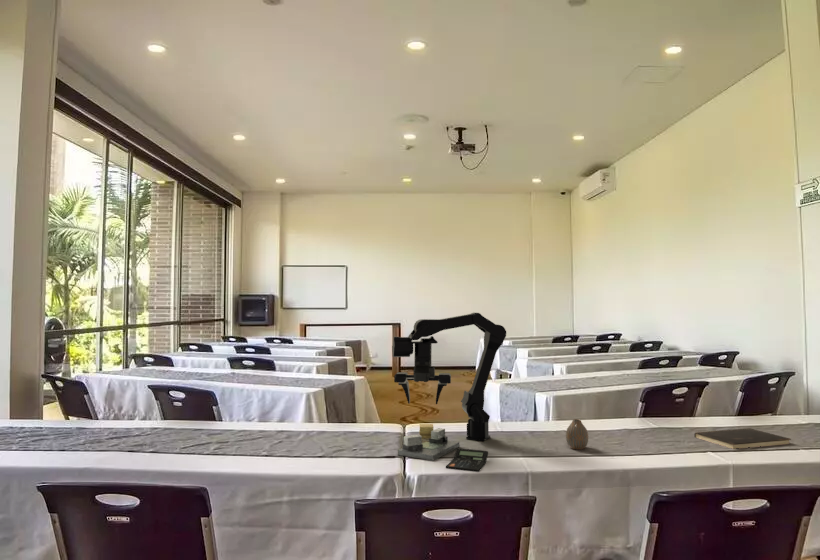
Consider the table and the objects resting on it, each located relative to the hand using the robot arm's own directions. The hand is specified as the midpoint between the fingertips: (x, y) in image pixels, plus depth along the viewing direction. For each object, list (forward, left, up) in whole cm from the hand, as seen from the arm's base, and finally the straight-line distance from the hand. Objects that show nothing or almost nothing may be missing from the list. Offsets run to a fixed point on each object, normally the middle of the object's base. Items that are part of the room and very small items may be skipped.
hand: (422, 403), depth 184 cm
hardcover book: (-92, -52, -13) cm, 106 cm away
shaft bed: (-8, +10, -12) cm, 18 cm away
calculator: (-24, +17, -13) cm, 32 cm away
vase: (-47, -16, -12) cm, 51 cm away
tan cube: (-1, -1, -12) cm, 12 cm away
